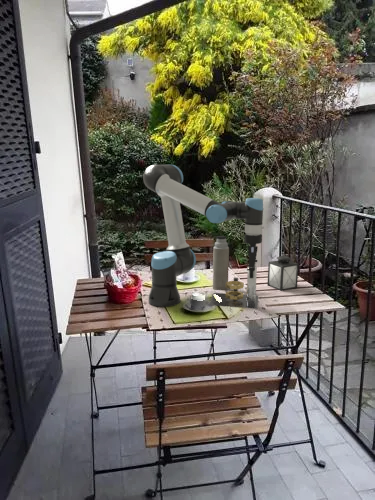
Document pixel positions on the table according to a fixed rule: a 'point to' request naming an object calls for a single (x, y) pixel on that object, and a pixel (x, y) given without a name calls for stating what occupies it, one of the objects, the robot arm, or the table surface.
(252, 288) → the tube
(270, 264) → the lantern
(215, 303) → the collar stand
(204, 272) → the table surface
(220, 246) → the thermos bottle
